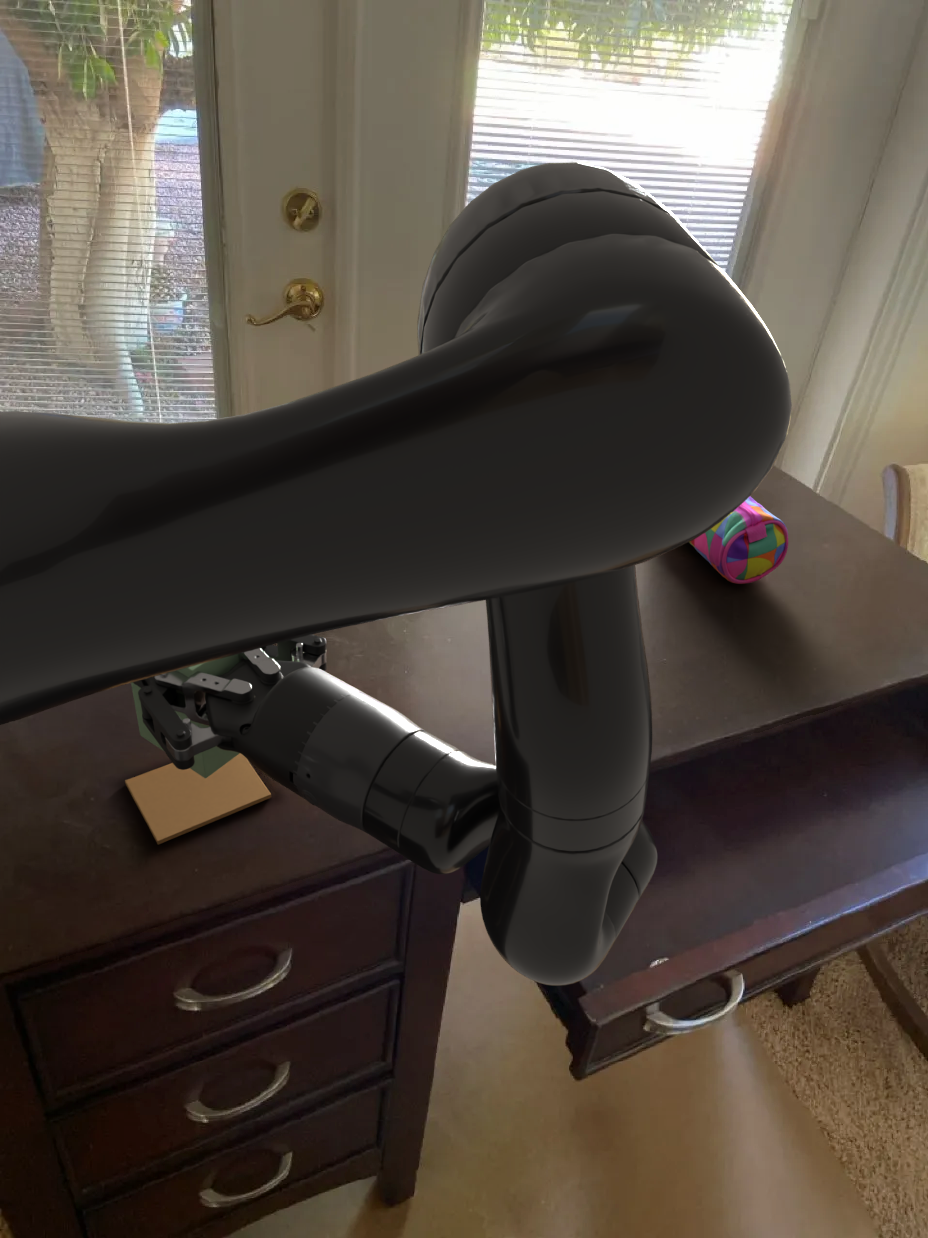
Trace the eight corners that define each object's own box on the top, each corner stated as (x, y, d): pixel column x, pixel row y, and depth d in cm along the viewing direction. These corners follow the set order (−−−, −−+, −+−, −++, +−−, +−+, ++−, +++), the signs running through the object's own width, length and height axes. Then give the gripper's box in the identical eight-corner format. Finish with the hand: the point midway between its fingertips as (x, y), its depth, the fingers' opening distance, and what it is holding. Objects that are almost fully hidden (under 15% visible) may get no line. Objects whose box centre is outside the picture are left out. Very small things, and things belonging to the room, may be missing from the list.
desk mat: (158, 845, 65) (157, 841, 65) (125, 784, 69) (124, 780, 69) (271, 797, 69) (271, 794, 69) (234, 743, 74) (233, 739, 74)
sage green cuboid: (205, 779, 63) (192, 670, 57) (139, 735, 66) (120, 628, 60) (250, 745, 66) (242, 639, 60) (186, 705, 69) (172, 600, 63)
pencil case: (623, 502, 115) (638, 437, 110) (685, 496, 119) (702, 433, 113) (715, 595, 99) (737, 525, 94) (783, 585, 102) (809, 517, 97)
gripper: (413, 648, 58) (228, 555, 65) (255, 771, 48) (58, 645, 56) (408, 732, 63) (235, 636, 70) (262, 860, 53) (78, 733, 60)
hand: (157, 641), depth 63 cm, fingers closed on sage green cuboid, 4 cm apart
